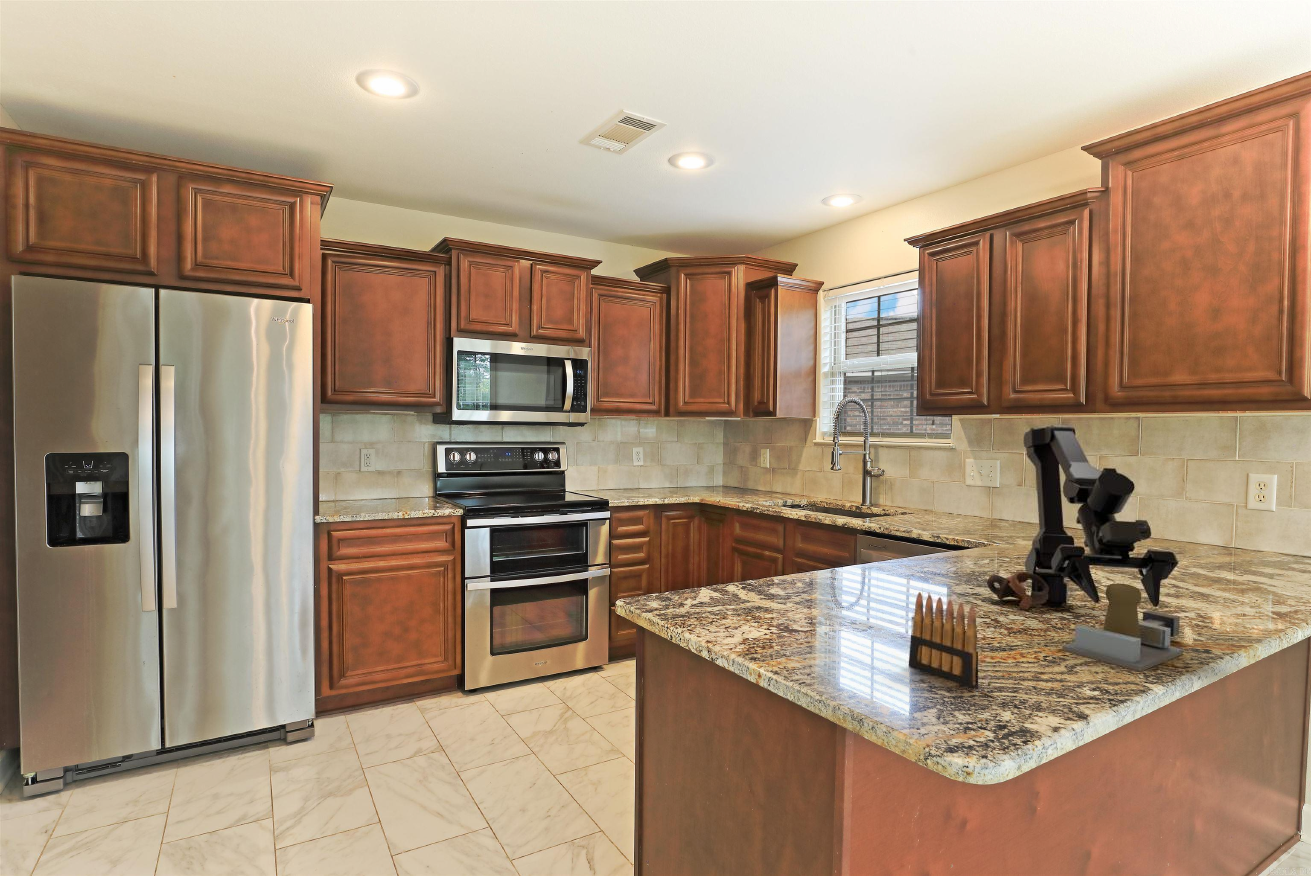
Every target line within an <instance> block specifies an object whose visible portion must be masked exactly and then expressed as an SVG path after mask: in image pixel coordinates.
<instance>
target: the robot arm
mask: <svg viewBox="0 0 1311 876" xmlns="http://www.w3.org/2000/svg"><path fill="white" fill-rule="evenodd" d="M1023 446H1024V448H1025V450H1026V451H1025V452H1026V457H1027V458H1028V459H1029V461H1030V462H1031V463H1032V465H1033V466H1034V468H1035V479H1036V480H1035V481H1036V494H1037V513H1038V526H1039V530H1038V532H1037V533H1036V535H1035V536H1034V538H1033V540H1032V541H1031V549H1030V550H1029V552H1028V555H1027V557H1026V558H1025V561H1024V568H1025V572H1029V573H1032V574H1035V575H1037V576H1039V577H1040V578H1042V579H1043V580H1044V581H1045V582H1046V584H1047V585H1048V587H1049V591H1048V599H1047V600H1046V602H1045V603H1043V604H1042V605H1048V606H1054V607H1059V608H1062V607H1064V605H1065V604H1067V603H1068V601H1069V593H1070V592H1069V590H1070V588H1069V587H1070V583H1069V582H1067V579H1068V580H1070V581H1071V582H1072V583H1073V584H1075V585H1076V586H1077V587H1078V588H1080V590H1081V591H1083V592H1084V593H1085V595H1087V597H1088V598H1089V599H1091V600H1092V602H1094V603H1095V604H1098V603H1099V601H1100V596H1099V595H1100V594H1099V592H1098V589H1097V587H1096V584H1095V581H1094V578H1093V575H1092V573H1091V569H1090V567H1091V566H1096V567H1103V568H1111V569H1125V570H1126V569H1128V570H1130V569H1131V570H1137V571H1138V573H1139V576H1140V577H1141V579H1140V583H1141V584H1142V587H1143V589H1144V590H1145V593H1146V596H1147V598H1148V599H1149V600H1148V601H1150V603H1151V605H1152V606H1153V608H1157V607H1158V606H1159V604H1160V595H1161V582H1162V581H1163V580H1167V579H1168V578H1169V577H1170V576H1171V574H1172V573H1173V571H1174V570H1175V568H1177V566H1178V565H1179V559H1178V558H1177V556H1176V554H1175V552H1173V551H1170V550H1163V549H1161V550H1160V549H1159V550H1158V549H1147V551H1146V552H1145V553H1144V555H1143V556H1142V557H1141V556H1140V557H1139V556H1137V557H1136V556H1130V553H1133V552H1134V550H1135V549H1136V547H1135V544H1136V543H1137V542H1141V541H1145V540H1147V539H1149V538H1151V536H1152V531H1151V530H1152V529H1151V525H1150V524H1149V522H1148V521H1147V520H1145V519H1136V520H1134V521H1127V520H1126V521H1124V520H1117V518H1116V516H1115V515H1118V514H1119V513H1122V512H1123V509H1124V508H1125V506H1126V505H1127V503H1128V501H1129V499H1130V498H1131V496H1132V494H1133V492H1134V490H1135V487H1136V486H1135V483H1134V481H1133V480H1131V479H1130V478H1129V477H1127V476H1126V475H1124V474H1123V473H1120V472H1118V471H1117V469H1116V468H1114V467H1113V468H1112V467H1104V468H1103V469H1102V470H1100V469H1098V468H1096V467H1095V466H1093V465H1092V464H1091V463H1090V462H1089V460H1088V458H1087V456H1086V453H1085V452H1084V450H1083V448H1082V446H1081V445H1080V443H1079V441H1078V439H1077V437H1076V428H1075V427H1073V426H1071V425H1061V424H1060V425H1057V424H1056V425H1054V424H1053V425H1052V424H1051V425H1049V426H1046V427H1031V428H1030V429H1029V430H1028V431H1027V432H1024V436H1023ZM1060 468H1061V470H1062V472H1063V474H1064V477H1065V478H1064V481H1063V485H1061V471H1060ZM1061 486H1062V487H1061ZM1062 493H1063V497H1064V498H1065V499H1066V502H1068V503H1069V504H1072V505H1080V507H1079V508H1078V510H1077V517H1076V522H1075V523H1076V525H1080V526H1081V528H1082V532H1083V535H1084V537H1085V539H1084V541H1083V545H1084V546H1082V545H1075V539H1074V537H1073V535H1069V534H1068V532H1067V531H1066V529H1064V526H1065V525H1064V516H1063V513H1064V512H1063V500H1062ZM1085 548H1088V550H1089V553H1086V549H1085ZM1030 589H1031V590H1030V592H1031V591H1035V592H1042V591H1044V589H1043V588H1042V587H1040V586H1037V585H1034V582H1033V581H1032V580H1031V587H1030Z"/></svg>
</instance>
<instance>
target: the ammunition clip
mask: <svg viewBox="0 0 1311 876" xmlns="http://www.w3.org/2000/svg"><path fill="white" fill-rule="evenodd" d="M932 598H933V597H932V595H931V594H928V596H927V598H926V600H925V601H926V602H925V606H924V600H923V595H922V593H921V592H920V591H919V592H918V593H917V596H916V598H915V599H916V600H915V605H914V606H915V607H914V615H913V619H912V620H913V621H912V634H911V635H910V645H909V654H908V655H909V656H908V667H910V668H913V669H915V670H917V671H921V672H924V673H927V674H929V675H933V676H936V677H938V678H942V679H944V680H947V681H949V682H953V683H955V684H958V685H961V686H965V687H966V688H970V689H972V688H976V687H978V686H979V651H978V649H977V648H978V633H977V615H976V608H975V607H974V604H971V605H970V607H969V609H968V614H967V620H966V616H965V614H966V613H965V607H964V605H963V602H962V601H960V602H959V604H958V606H957V609H956V618H955V619H954V616H955V613H954V606H953V601H952V599H949V600H948V601H947V604H946V608H945V613H944V605H943V600H942V597H940V596H939V597H938V598H937V600H936V605H935V610H934V604H933V603H934V602H933V599H932ZM924 607H925V608H924ZM944 614H945V616H944ZM944 617H945V618H944ZM965 621H967V623H966V622H965Z"/></svg>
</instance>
